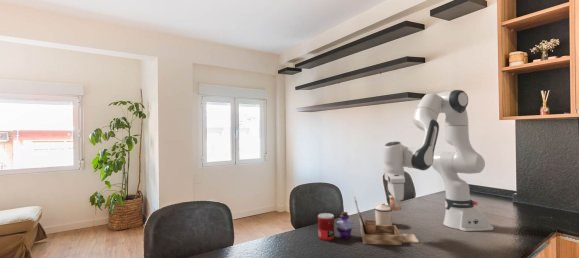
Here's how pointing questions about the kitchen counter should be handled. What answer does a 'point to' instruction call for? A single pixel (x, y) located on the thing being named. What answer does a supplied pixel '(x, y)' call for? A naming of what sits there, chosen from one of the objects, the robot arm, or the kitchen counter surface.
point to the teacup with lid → (383, 215)
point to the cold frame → (380, 233)
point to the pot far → (370, 226)
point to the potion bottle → (344, 226)
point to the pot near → (392, 204)
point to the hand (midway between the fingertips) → (395, 204)
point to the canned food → (326, 226)
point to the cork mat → (409, 238)
